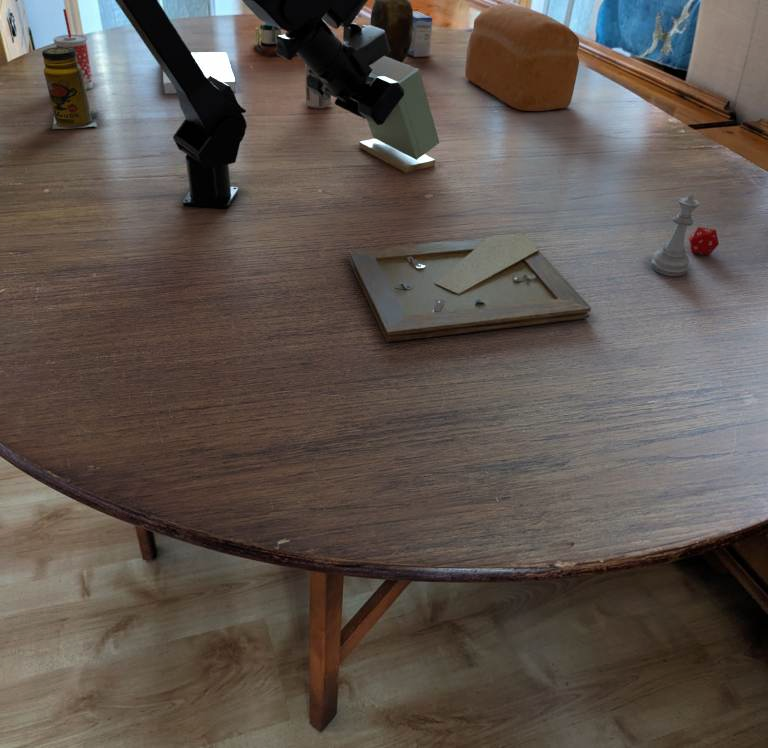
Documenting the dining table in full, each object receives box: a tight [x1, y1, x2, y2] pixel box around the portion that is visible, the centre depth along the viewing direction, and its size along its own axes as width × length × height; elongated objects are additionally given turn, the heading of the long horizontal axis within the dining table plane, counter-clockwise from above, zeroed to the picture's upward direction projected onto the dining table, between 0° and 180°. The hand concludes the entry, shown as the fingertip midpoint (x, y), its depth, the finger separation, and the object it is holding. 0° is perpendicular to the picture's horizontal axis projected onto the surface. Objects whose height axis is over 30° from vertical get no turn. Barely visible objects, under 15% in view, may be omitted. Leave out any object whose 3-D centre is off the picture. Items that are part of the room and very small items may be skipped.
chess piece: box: [650, 193, 700, 277], centre depth 90 cm, size 4×4×10 cm
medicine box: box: [407, 10, 433, 58], centre depth 174 cm, size 8×4×9 cm, turn 25°
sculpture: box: [369, 0, 414, 63], centre depth 159 cm, size 13×8×20 cm, turn 15°
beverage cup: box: [53, 8, 94, 90], centre depth 140 cm, size 6×6×14 cm
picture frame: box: [348, 232, 592, 343], centre depth 86 cm, size 19×2×24 cm
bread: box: [464, 3, 580, 112], centre depth 148 cm, size 14×26×16 cm, turn 20°
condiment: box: [41, 46, 98, 130], centre depth 124 cm, size 7×8×12 cm
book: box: [162, 51, 237, 95], centre depth 152 cm, size 23×14×2 cm, turn 14°
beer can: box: [304, 63, 332, 110], centre depth 137 cm, size 5×5×12 cm
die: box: [688, 226, 720, 256], centre depth 96 cm, size 4×3×4 cm
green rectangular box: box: [366, 56, 440, 160], centre depth 115 cm, size 5×12×13 cm, turn 36°
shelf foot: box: [358, 138, 436, 174], centre depth 120 cm, size 6×13×1 cm, turn 36°
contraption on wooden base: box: [253, 19, 327, 58], centre depth 171 cm, size 14×18×15 cm
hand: (382, 121), depth 115 cm, fingers closed, pressing on green rectangular box
